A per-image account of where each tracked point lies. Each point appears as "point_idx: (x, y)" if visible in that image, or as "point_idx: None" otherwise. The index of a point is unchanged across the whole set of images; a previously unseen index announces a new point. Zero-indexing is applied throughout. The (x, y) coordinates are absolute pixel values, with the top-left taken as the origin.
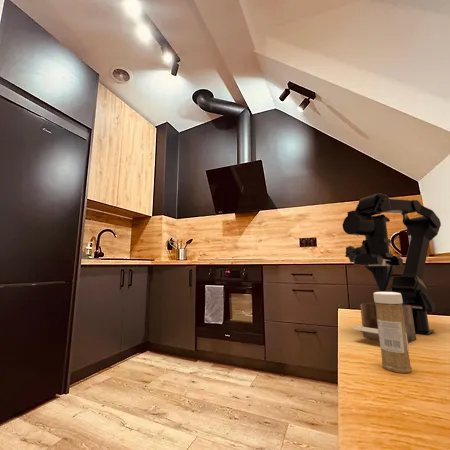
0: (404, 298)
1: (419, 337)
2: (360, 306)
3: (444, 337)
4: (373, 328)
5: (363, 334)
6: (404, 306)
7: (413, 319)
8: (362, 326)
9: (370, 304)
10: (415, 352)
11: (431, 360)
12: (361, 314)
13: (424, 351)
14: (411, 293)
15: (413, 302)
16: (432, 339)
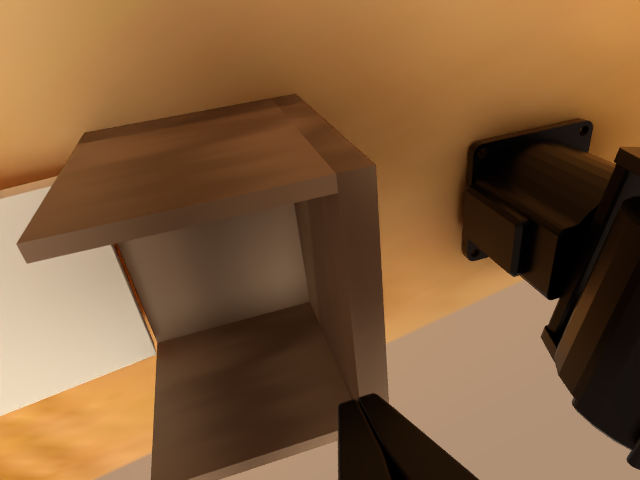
0: (591, 319)
1: (386, 265)
2: (25, 231)
3: (474, 299)
4: (65, 260)
5: (83, 138)
6: (287, 448)
7: (499, 254)
8: (71, 155)
9: (255, 205)
10: (84, 407)
11: (40, 473)
12: (46, 197)
13: (141, 405)
14: (602, 409)
15: (560, 347)
16: (392, 305)
